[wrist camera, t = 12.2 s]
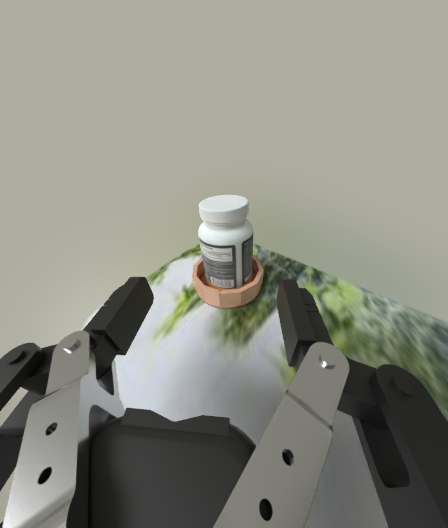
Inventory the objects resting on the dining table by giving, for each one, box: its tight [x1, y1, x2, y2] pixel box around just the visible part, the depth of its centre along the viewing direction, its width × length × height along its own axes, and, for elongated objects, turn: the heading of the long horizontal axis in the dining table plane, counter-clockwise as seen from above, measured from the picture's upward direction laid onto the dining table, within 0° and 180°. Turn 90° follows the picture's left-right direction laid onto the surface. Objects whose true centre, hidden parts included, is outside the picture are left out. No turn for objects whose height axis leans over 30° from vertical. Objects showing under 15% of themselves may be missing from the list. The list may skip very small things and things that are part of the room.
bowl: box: [192, 256, 264, 309], centre depth 22 cm, size 8×8×2 cm
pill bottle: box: [198, 195, 253, 290], centre depth 19 cm, size 6×6×10 cm
